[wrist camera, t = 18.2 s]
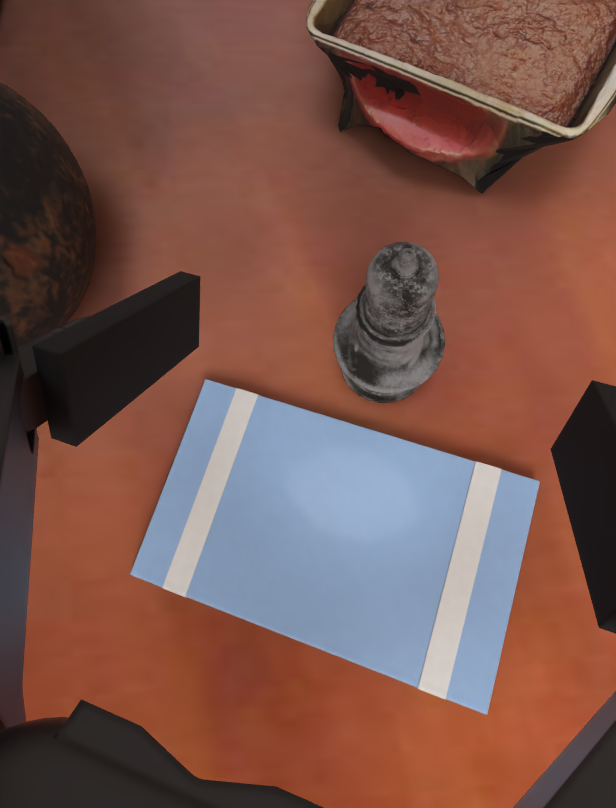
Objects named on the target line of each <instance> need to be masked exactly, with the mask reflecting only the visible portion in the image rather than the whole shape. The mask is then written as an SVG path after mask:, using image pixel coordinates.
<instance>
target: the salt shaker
mask: <svg viewBox="0 0 616 808" xmlns="http://www.w3.org/2000/svg"><path fill="white" fill-rule="evenodd" d="M438 281H439V275H438V266H437V264H436V261H435V259H434V258H433V256H432V255H431V254H430V252H429V251H427V250H426V249H425V248H423V247H422V246H419V245H417V244H415V243H410V242H396V243H393V244H390V245H387V246H386V247H384V248H382V249H381V250H379V251H378V253H377V254H376V255H375V256H374V257H373V259H372V261H371V263H370V264H369V266H368V269H367V274H366V284H365V286H364V287H363V288H362V289H361V291H360V293H359V295H358V297H357V299H355V300H354V301H352V302H351V303H350V304H349V305H348V306H347V307H346V308H345V309H344V310H343V312H342V314H341V315H340V317H339V319H338V321H337V323H336V327H335V331H334V335H333V342H334V352H335V355H336V358H337V361H338V363H339V365H340V366H341V371H342V374H343V377H344V379H345V381H346V382H347V384H348V385H349V387H350V388H351V389H352V390H353V391H354V392H356V393H357V394H358V395H359V396H361V397H363V398H365V399H367V400H369V401H374V402H379V403H389V402H395V401H398V400H402V399H404V398H406V397H407V396H409V395H411V394H412V393H414V391H415V390H416V389H417V388H418V387H419V386H420V385H421V383H423V382H425V381H426V380H427V379H428V378H429V377H430V376H431V375H432V374H433V373H434V371H435V370H436V369H437V367H438V365H439V363H440V361H441V359H442V357H443V352H444V347H445V337H444V329H443V326H442V324H441V321H440V319H439V316H438V315H437V314H436V306H435V299H434V295H435V292H436V290H437V286H438Z"/></svg>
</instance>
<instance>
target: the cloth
mask: <svg viewBox="0 0 616 808" xmlns="http://www.w3.org/2000/svg"><path fill="white" fill-rule="evenodd" d="M539 483H540V481H538V480H534V479H531V478H528V477H525V476H521V475H518V474H515V473H512V472H508V471H505V470H502V469H500V468H497V467H494V466H490V465H487V464H484V463H480V462H477V461H472V460H469V459H466V458H463V457H459V456H456V455H453V454H450V453H446V452H443V451H440V450H436V449H433V448H430V447H427V446H423V445H420V444H417V443H414V442H410V441H407V440H404V439H401V438H397V437H394V436H391V435H387V434H384V433H381V432H378V431H374V430H371V429H368V428H365V427H361V426H358V425H355V424H352V423H348V422H345V421H342V420H339V419H335V418H332V417H329V416H325V415H322V414H319V413H316V412H312V411H309V410H306V409H303V408H299V407H296V406H293V405H290V404H286V403H283V402H280V401H276V400H273V399H270V398H267V397H263V396H260V395H258V394H255V393H252V392H249V391H245V390H242V389H239V388H234V387H231V386H228V385H224V384H221V383H218V382H214V381H211V380H208V379H206V380H205V382H204V384H203V387H202V390H201V392H200V395H199V397H198V400H197V403H196V405H195V408H194V410H193V413H192V415H191V418H190V421H189V423H188V426H187V428H186V431H185V434H184V436H183V439H182V441H181V444H180V446H179V449H178V452H177V454H176V457H175V459H174V462H173V465H172V467H171V470H170V472H169V475H168V478H167V480H166V483H165V485H164V488H163V490H162V493H161V496H160V498H159V501H158V503H157V506H156V509H155V511H154V514H153V516H152V519H151V521H150V524H149V527H148V529H147V532H146V534H145V537H144V540H143V542H142V545H141V547H140V550H139V552H138V555H137V558H136V560H135V563H134V565H133V568H132V571H131V573H130V575H132V576H135V577H137V578H140V579H142V580H145V581H147V582H150V583H153V584H155V585H158V586H160V587H162V588H163V589H166V590H168V591H171V592H173V593H176V594H178V595H181V596H183V597H188V598H191V599H193V600H196V601H198V602H201V603H203V604H206V605H208V606H211V607H214V608H216V609H219V610H221V611H224V612H226V613H229V614H231V615H234V616H236V617H239V618H242V619H244V620H247V621H249V622H252V623H254V624H257V625H259V626H262V627H264V628H267V629H269V630H272V631H275V632H277V633H280V634H282V635H285V636H287V637H290V638H292V639H295V640H297V641H300V642H303V643H305V644H308V645H310V646H313V647H315V648H318V649H320V650H323V651H325V652H328V653H331V654H333V655H336V656H338V657H341V658H343V659H346V660H348V661H351V662H353V663H356V664H358V665H361V666H364V667H366V668H369V669H371V670H374V671H376V672H379V673H381V674H384V675H386V676H389V677H392V678H394V679H397V680H399V681H402V682H404V683H407V684H409V685H412V686H414V687H417V688H418V689H420V690H422V691H425V692H427V693H430V694H432V695H435V696H437V697H440V698H442V699H447V700H450V701H453V702H455V703H458V704H460V705H463V706H465V707H468V708H470V709H473V710H475V711H478V712H481V713H483V714H486V715H487V713H488V709H489V704H490V700H491V696H492V691H493V687H494V682H495V678H496V673H497V669H498V665H499V660H500V656H501V651H502V647H503V642H504V638H505V634H506V629H507V625H508V620H509V616H510V611H511V607H512V603H513V598H514V594H515V589H516V585H517V580H518V576H519V572H520V567H521V563H522V558H523V554H524V550H525V545H526V541H527V536H528V532H529V527H530V523H531V519H532V514H533V510H534V505H535V501H536V496H537V492H538V488H539Z"/></svg>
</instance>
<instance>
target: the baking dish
mask: <svg viewBox="0 0 616 808" xmlns="http://www.w3.org/2000/svg"><path fill="white" fill-rule="evenodd" d="M307 29H308V31H309V33H310V35H311V36H312V38H313V40H314V41H315V43H316V44H317V46H318V47H319V48H320V49H321V50H322V51H323V52H325V53H326V54H327V55H328V57H329V58H330V60H331V61H332V63H333V65H334V66H335V68H336V70H337V71H338V73H339V75H340V76H341V78H342V80H343V84H344V90H345V93H344V98H343V104H342V109H341V115H340V120H339V125H338V126H339V130H340V132H341V131H342V130H344V129H347V128H350V127H353V126H356V125H357V126H376V127H380V128H382V130H383V132H384V134H385V136H387V137H389V138H390V139H392V140H393V141H395V142H397V143H398V144H399V145H401V146H402V147H403V148H404V149H406V150H407V151H408V152H409V153H411V154H414V155H417V156H420V157H423V158H425V159H427V160H429V161H431V162H433V163H435V164H437V165H439V166H441V167H444V168H446V169H448V170H450V171H452V172H454V173H456V174H458V175H460V176H462V177H463V178H464V179H465V180H466V181H468V182H469V183H470V184H471V185H472V186H473V187H475V188H476V189H477V190H478V191H479V192H480V193H483V192H484V191H485V190H486V189H487V188H489V187H490V186H491V185H492V184H493V183H494V182H495V181H496V180H497V179H499V178H500V177H501V176H502V175H503V174H504V173H505V172H506V171H507V170H509V169H510V168H511V167H512V166H513V165H514V164H515V163H516V162H518V161H519V160H520V159H521V158H522V157H524V156H526V155H528V154H530V153H532V152H534V151H536V150H538V149H540V148H542V147H544V146H547V145H552V144H556V143H561V142H565V141H570V140H573V139H575V138H577V137H578V136H580V135H582V134H583V133H585V132H587V131H588V130H589V129H590V128H591V127H593V126H594V125H595V124H596V123H597V122H599V121H600V120H601V119H602V118H604V117H605V116H606V115H608V113H609V112H610V111H611V109H612V108H613V106H614V105H615V104H616V0H313V1H312V3H311V5H310V8H309V10H308V13H307Z"/></svg>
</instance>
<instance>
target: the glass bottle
mask: <svg viewBox="0 0 616 808" xmlns="http://www.w3.org/2000/svg"><path fill="white" fill-rule="evenodd" d="M95 247H96V230H95V217H94V211H93V206H92V200H91V196H90V193H89V189H88V186H87V184H86V181H85V178H84V176H83V173H82V171H81V169H80V167H79V164H78V162H77V160H76V159H75V157H74V155H73V154H72V152H71V150H70V149H69V147H68V145H67V144H66V142H65V141H64V139H63V138H62V137H61V135H60V134H59V133H58V131H57V130H56V129H55V128H54V126H53V125H52V124H51V123H50V122H49V121H48V120H47V119H46V118H45V117H44V115H43V114H42V113H41V112H39V111H38V110H37V109H36V108H35V107H34V106H33V105H32V104H30V103H29V102H28V101H27V100H26V99H24V98H23V97H22V96H21V95H19V94H18V93H17V92H15V91H14V90H12V89H11V88H9V87H8V86H6V85H5V84H3V83H1V82H0V316H2V317H5V318H7V319H9V320H10V321H11V323H12V327H13V331H14V335H15V340H16V344H17V347H19V346H21V345H23V344H25V343H28V342H30V341H32V340H34V339H36V338H38V337H40V336H42V335H44V334H46V333H48V334H49V332H50V331H52V330H54V329H56V328H60V327H61V326H62V325H64V324H66V323H67V321H68V320H69V319H70V317H71V316H72V314H73V313H74V311H75V310H76V308H77V306H78V305H79V303H80V301H81V299H82V297H83V295H84V293H85V290H86V288H87V286H88V283H89V280H90V277H91V272H92V268H93V263H94V255H95Z"/></svg>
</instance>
